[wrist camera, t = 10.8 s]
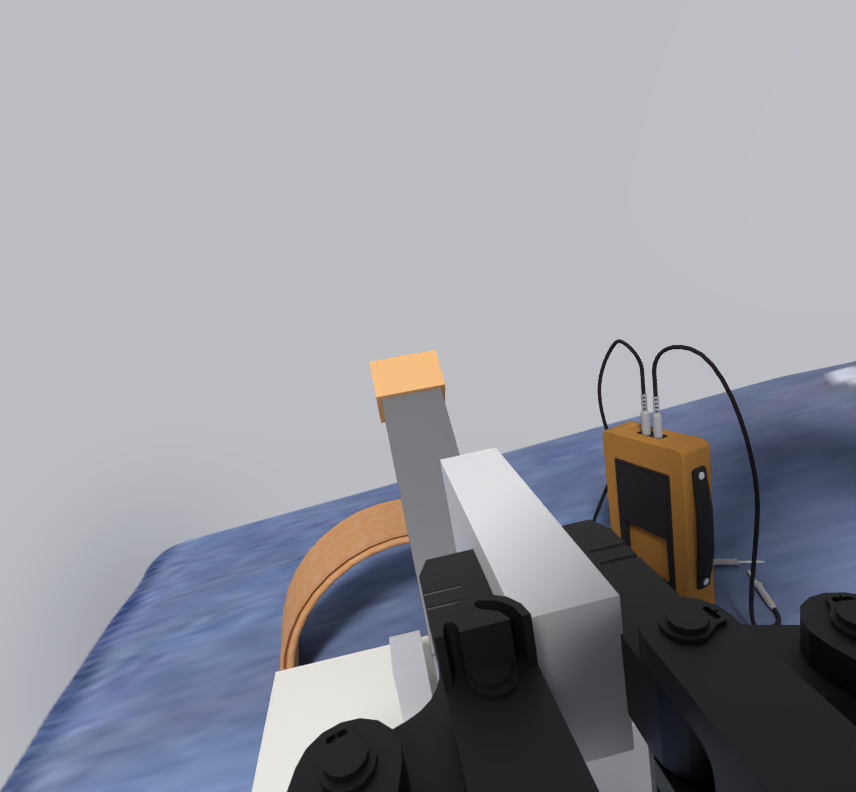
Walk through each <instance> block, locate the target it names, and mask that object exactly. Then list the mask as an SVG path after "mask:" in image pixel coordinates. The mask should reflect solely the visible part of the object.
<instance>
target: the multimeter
mask: <svg viewBox="0 0 856 792" xmlns="http://www.w3.org/2000/svg"><path fill="white" fill-rule="evenodd" d="M617 343H621V344H623V345H625V346H626V347H627V348H628V349H629V350H630V351H631V352H632V353H633V354H634V356H635V357H636V359H637V361H638V363H639V366H640V375H641V389H642V394H641V404H642V412H641V424H639V423H638V422H632V421H630V422H627V423H624V424H621V425H619V426H616V427H613V428H610V429H608V426H607V423H606V420H605V416H604V412H603V406H602V399H601V382H602V376H603V371H604V368H605V365H606V362H607V360H608V358H609V355H610V353H611V352H612V350H613V348H614V347H615V345H616V344H617ZM672 349H683V350H689V351H691V352H693V353H695V354H697V355H699V356H701V357H702V358H703V359H704V360H705V361H706V362H707V363H708V364H709V365H710V366H711V367H712V369H713V370H714V372H715V373H716V375H717V376H718V377H719V379H720V380H721V382H722V384H723V386H724V388H725V390H726V392H727V394H728V396H729V398H730V400H731V403H732V405H733V408H734V410H735V412H736V415H737V417H738V421H739V424H740V427H741V430H742V433H743V436H744V440H745V443H746V447H747V451H748V455H749V460H750V465H751V470H752V475H753V483H754V491H755V523H754V539H753V551H752V561H738V558H735V559H714V529H713V507H712V491H711V464H710V445H709V443H708V442H707V441H706V440H704V439H703V438H700V437H696V436H689V435H685V434H681V433H677V432H673V431H668V430H664V429H662V416H661V414H660V411H659V396H658V393H657V378H656V367H657V362H658V360H659V358H660V356H661V355H662V354H663V353H664V352H666V351H668V350H672ZM652 377H653V393H654V396H653V407H654V414H653V415H652V419H653V427H652V426H650V416H649V412H648V410H647V396H646V394H645V379H644V368H643V364H642V361H641V359H640V357H639V356H638V354H637V353H636V351H635V350H634V349H633V348H632V347H631V346H630V345H629V344H628V343H626V342H624V341H623V340H620V339H619V340H616V341H614V343H613V344H612V345H611V347H610V348H609V350H608V352H607V354H606V356H605V358H604V361H603V363H602V367H601V370H600V374H599V380H598V401H599V408H600V413H601V416H602V421H603V424H604V427H605V430H604V431H603V443H604V455H605V466H606V478H607V484H606V487H605V489H604V492H603V494H602V497H601V499H600V502H599V504H598V507H597V509H596V512H595V514H594V517H593V520H592V521H594V522H595V521H596V518H597V515H598V513H599V510H600V508H601V505H602V503H603V500H604V498H605V495H606V493H607V490H608V500H609V511H610V522H611V529H612V530H613V531H614V532H615V533H616V534H617V535H618V536H619V537H620V538H621V539H622V540H623V541H624V542H625V544H626V545H628V546H629V547H630V548H631V549H632V550H633V551H634V552H635V553H636V554H637V556H638V557H641V558H642V559H643V560H644V561H645V562H646V563H647V564H648V565H649V566H650V567H651V568H652V569H653V570H654V571H655V572H656V573H657V574H658V575H659V576H660V577H661V578H662V579H663V580H664V581H665V582H666V583H667V584H668V585H669V586H670V587H671V588H672V589H673V590H675V591H676V592H677V593H678V594H679V595H680V596H682V597H690V598H698V599H701V600H703V601H706V602H709V603H712V604H714V603H715V593H714V565H736V566H739V563H752V564H751V572H750V571H749V570H748V569H747V570H748V573H749V575H750V588H749V614H750V619H751V624H752V625H756V623H755V620H754V610H753V599H754V587H755V588H756V589H757V590H758V592H759V593H760V595H761V596H762V598H763V599H764V601H765V602H766V604H767V605H768V606H769V607H770V609H771V610H773V612H774V613H775V615H776V617H777V622H776V623H775V624H773V625H780V624H781V617H780V614H779V613H778V611H777V609H776V606H775V603H774V602H773V600H772V599H771V597H770V596H769V594H768V593H767V591H766V590H765V589H764V587H763V584H762V583H761V582H757V580H756V579H755V570H756V563H764V561H756V558H757V547H758V535H759V516H760V498H759V487H758V478H757V473H756V467H755V462H754V457H753V453H752V449H751V445H750V441H749V437H748V434H747V431H746V428H745V425H744V422H743V419H742V416H741V413H740V411H739V408H738V406H737V403H736V401H735V398H734V396H733V394H732V392H731V390H730V389H729V387H728V385H727V383H726V381H725V379H724V378H723V376H722V375H721V373H720V372H719V370H718V369H717V367H716V366H715V365H714V363H713V362H711V360H709V359H708V358H707V357H706V356H705V355H704V354H703V353H702V352H700V351H698V350H696V349H694V348H692V347H689V346H684V345H672V346H669V347H666V348H664V349H662V350H661V351H660V352H659V353H658V354H657V356H656V357H655V360H654V362H653V368H652ZM754 582H755V583H754Z"/></svg>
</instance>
